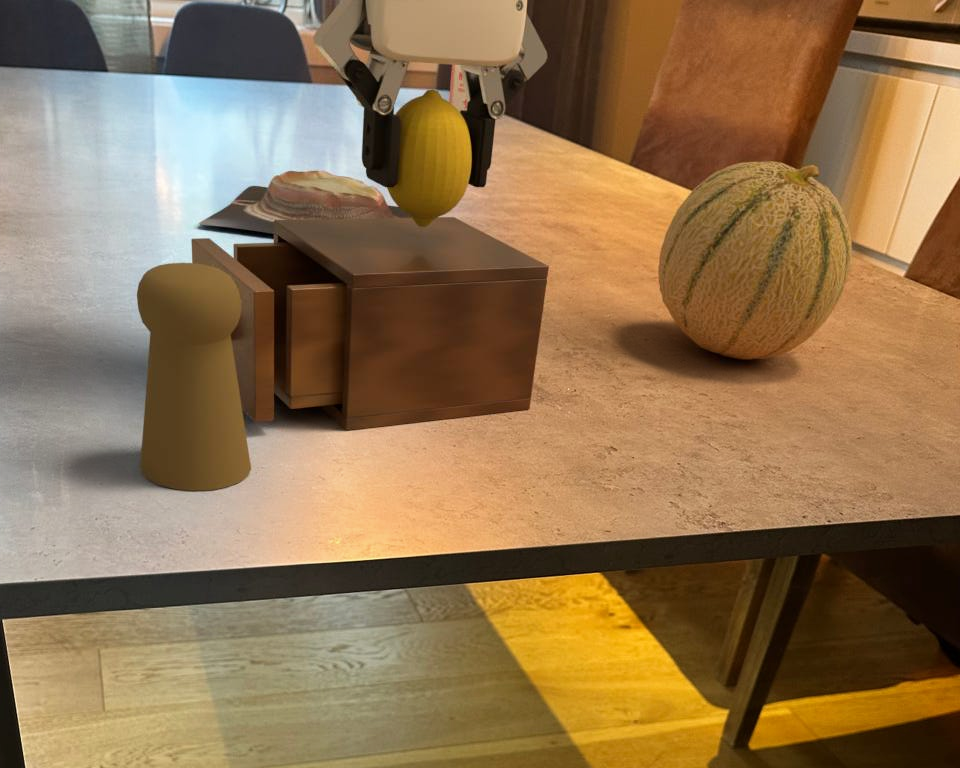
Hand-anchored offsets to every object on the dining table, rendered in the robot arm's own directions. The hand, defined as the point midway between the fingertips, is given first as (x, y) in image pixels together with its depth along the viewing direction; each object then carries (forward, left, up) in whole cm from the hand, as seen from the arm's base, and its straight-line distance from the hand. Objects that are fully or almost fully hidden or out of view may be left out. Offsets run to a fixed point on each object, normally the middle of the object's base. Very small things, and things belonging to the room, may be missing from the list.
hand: (426, 179), depth 68 cm
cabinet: (-1, 0, -13) cm, 13 cm away
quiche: (+13, +45, -14) cm, 49 cm away
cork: (-18, -9, -14) cm, 24 cm away
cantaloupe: (+30, 0, -14) cm, 33 cm away
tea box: (+69, +114, -14) cm, 134 cm away
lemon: (0, 0, -3) cm, 3 cm away
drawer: (-8, 0, -13) cm, 15 cm away
